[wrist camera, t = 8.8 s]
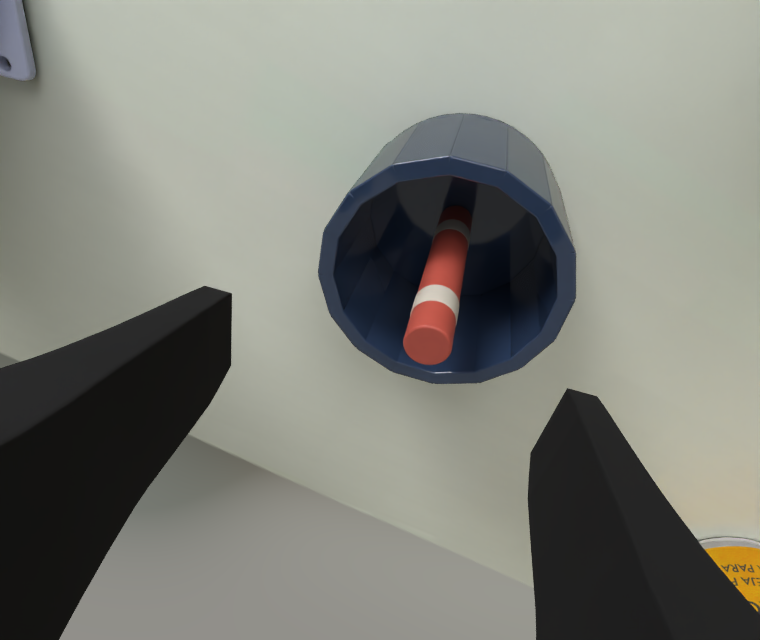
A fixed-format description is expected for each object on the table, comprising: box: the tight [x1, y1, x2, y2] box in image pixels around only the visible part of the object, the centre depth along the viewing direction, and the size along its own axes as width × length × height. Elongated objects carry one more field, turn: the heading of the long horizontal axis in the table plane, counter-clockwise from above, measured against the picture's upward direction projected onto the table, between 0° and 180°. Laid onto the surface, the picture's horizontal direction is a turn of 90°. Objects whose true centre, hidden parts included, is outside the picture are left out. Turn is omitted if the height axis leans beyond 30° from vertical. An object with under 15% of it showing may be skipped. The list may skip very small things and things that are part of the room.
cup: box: [318, 113, 576, 384], centre depth 17 cm, size 7×7×6 cm
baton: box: [403, 206, 472, 365], centre depth 15 cm, size 1×1×8 cm
